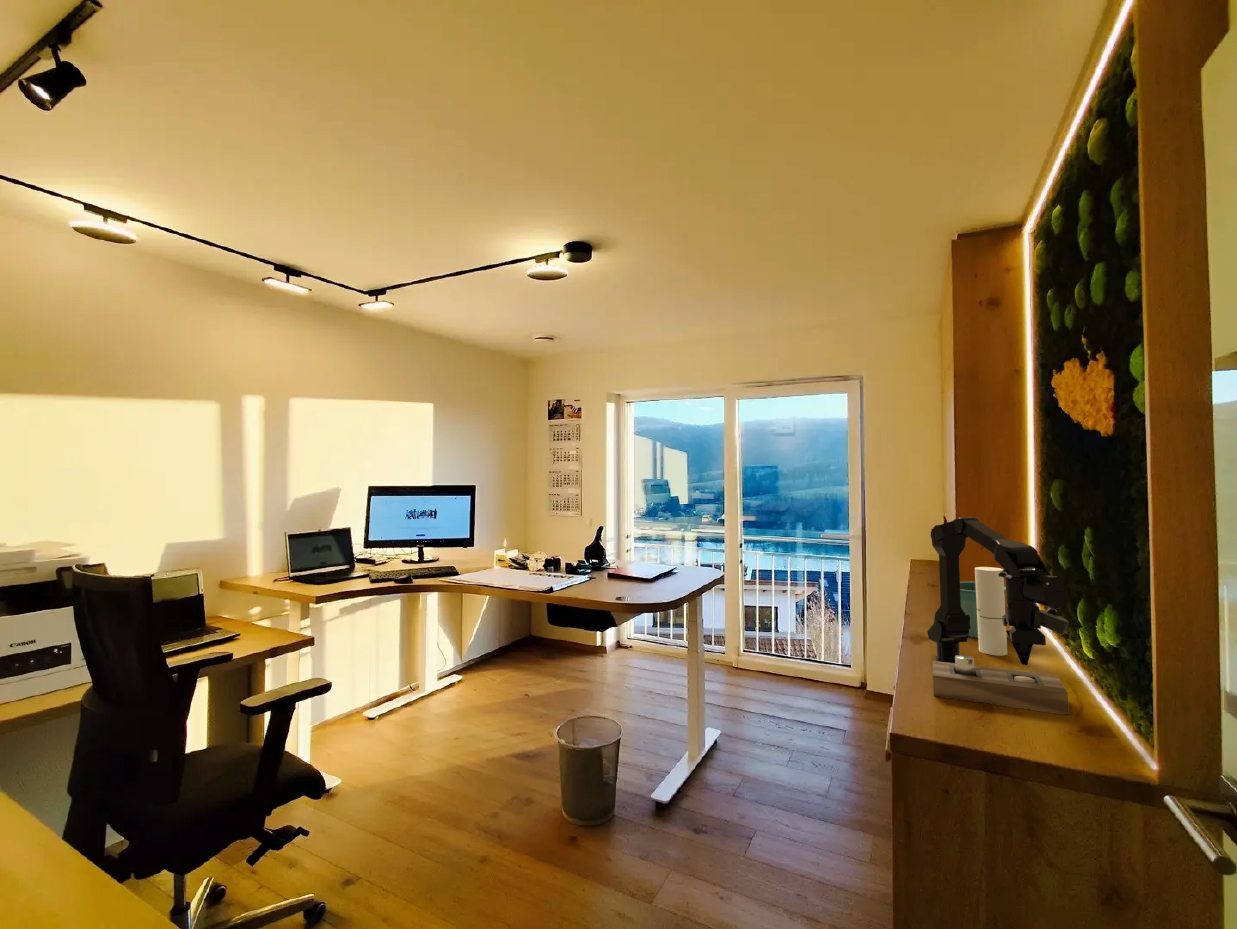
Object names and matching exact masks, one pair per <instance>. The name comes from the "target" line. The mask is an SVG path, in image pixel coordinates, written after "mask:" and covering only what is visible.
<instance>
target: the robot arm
mask: <svg viewBox="0 0 1237 929" xmlns="http://www.w3.org/2000/svg"><path fill="white" fill-rule="evenodd" d="M968 538H970V539H971V540H973V541H974V542H976V544H979V545H980V546H982V547H983V548H984V549H986V550H987V551H989V552H990V553H991V554H993V559H994V561H995V562H996V563H997V564H999V565H1000V566H1001V568H1002V569H1003V571H1002V572H1000V573H999V574H998V575H999V576H1000V577H1003V579H1005V580H1004V581H1005V583H1004V584H1005V587H1006V591H1005V607H1006V612H1005V615H1003V616H1002V621H1003V625H1004V626H1006V627H1007V626H1009V630H1007V629H1006V635H1007V636H1008V637H1007V638H1009V640H1010V643H1011V644H1012V647H1013V649H1014V652H1015V653H1016V655H1017V657H1018V659H1019V661H1020V664H1021V665H1023V666H1028V665H1029V660H1030V656H1031V652H1032V648H1033V646H1034V645H1036V646H1046V645H1047V643H1046V642H1047V640H1046V636H1045V634H1044V633H1043V631H1042V630H1040V629H1042V627H1043V628H1046V629H1048V630H1051V631H1054V632H1055V633H1057V634H1058V635H1065V633H1066V630H1067V627H1068V625H1069V620H1067V619H1066V618H1064V617H1063V616H1060V615H1059V612H1058V610H1057V609H1059V608H1063V607H1064V606H1066V604H1067V603H1068V601H1069V599H1070V598H1069V597H1070V592H1069V591H1068V589H1067V587H1066V586H1065V585H1064V584H1063V583H1062V582H1060V577H1059V576H1055V575H1052V574H1051V572H1050V571H1049V570H1048V569H1049V568H1048V567H1047V565H1046V564H1045V562H1044V561H1043V559H1042V557H1041V556H1040V555H1039V553H1038V550H1037V549H1036V548H1035V547H1033V546H1032V545H1029V544H1026V543H1024V542H1021V541H1017V540H1011V539H1009V538H1007V537H1005V536H1003V535H1001V534H1000V533H999V532H997V531H995V530H994V529H992V528H990V527H989V526H987V525H985V524H984V523H982V522H980V521H979V519H978V518H977V517H974V516H968V517H965V516H964V517H961V516H960V517H958V518H955V519H953V520H951V521H947V522H944V523H942V524H936V525H934V526H933V527H932V528H931V531H930V540H931V545H932V547H933V548H934V550H935V552H936V553H937V554H938V558H939V559H938V565H939V566H938V568H939V586H940V587H939V588H940V589H939V592H940V593H939V595H940V597H939V598H940V606H939V607H938V609H937V610H936V612H935V614H934V622H933V624H932V625H931V626H930V628H929V629H928V630H927V631H926V632H927V633H926V634H927V637H928V640H930V641H932V642H934V643H935V644H936V655H934V656H935V658H934V659H935V661H938V662H947V663H955V656H956V655H961V652H960V651H961V650H960V648H961V647H960V643H967V642H968V639H969V636H968V635H969V631H970V629H971V627H970V616H969V615H967V614H965V612H964V611H963V609H962V608H961V592H960V582H961V569H960V566H961V564H960V556H961V554H962V553H963V551H964V550H965V548H966V542H967V540H968ZM1037 604H1039V605H1043V606H1046V607H1048V608H1046V609H1045V610H1044V609H1040V606H1038V605H1037Z"/></svg>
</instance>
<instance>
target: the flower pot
mask: <svg viewBox="0 0 1237 929" xmlns="http://www.w3.org/2000/svg"><path fill="white" fill-rule="evenodd" d="M960 592H961V608H962V609H963V611H964V612H965V614H967V615H969V616H970V627H971V629H970V631H969V635H968V637H969V636H970V638H973V637H975V638H974V639H978V622H977V602H976V583H975V581H960ZM1004 597H1005V598H1006V585H1004Z"/></svg>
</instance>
